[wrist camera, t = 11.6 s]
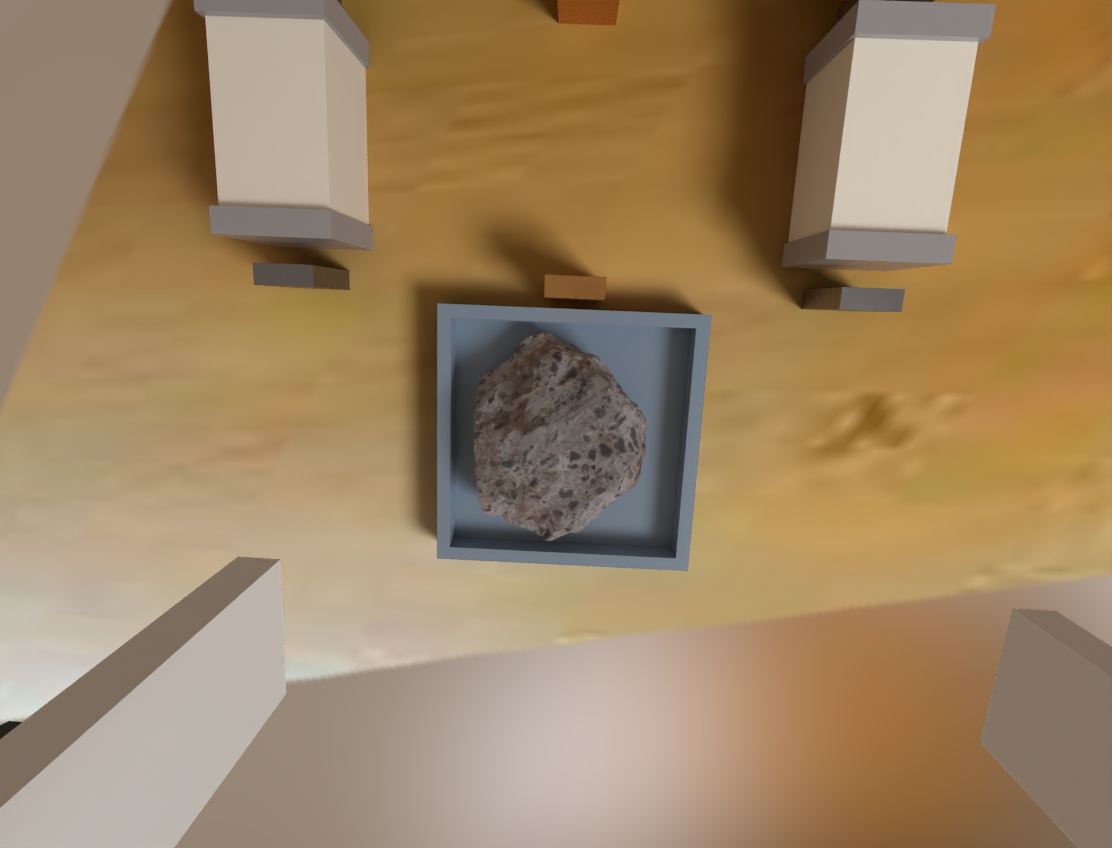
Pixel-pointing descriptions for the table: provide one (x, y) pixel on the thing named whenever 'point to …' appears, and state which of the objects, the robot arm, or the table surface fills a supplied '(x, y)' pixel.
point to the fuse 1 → (288, 123)
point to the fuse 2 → (884, 136)
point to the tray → (643, 373)
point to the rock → (554, 438)
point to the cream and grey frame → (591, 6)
